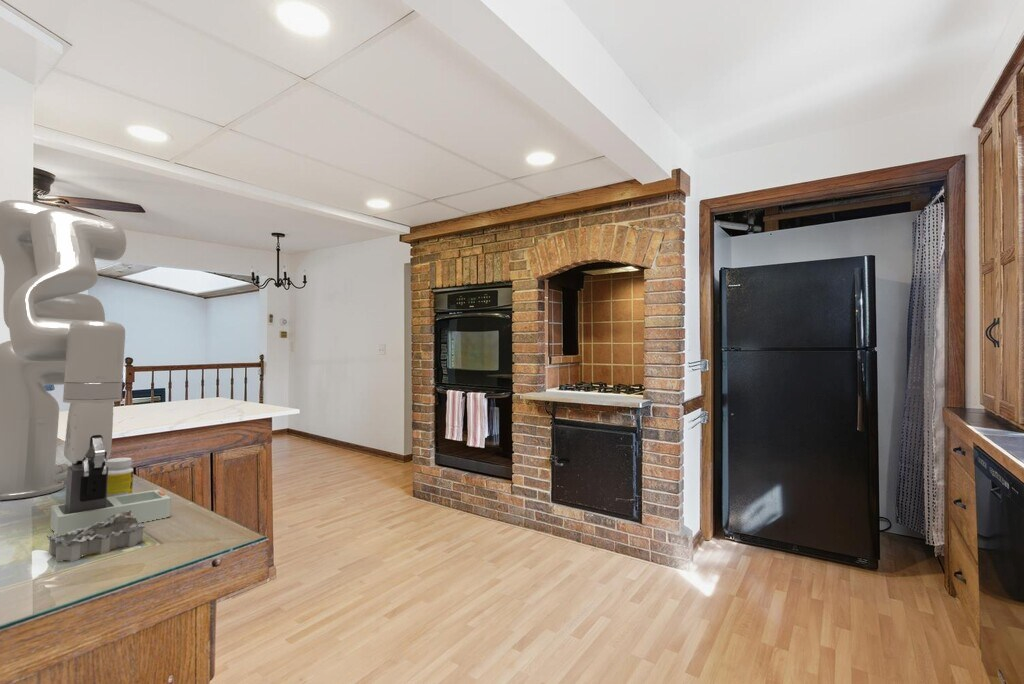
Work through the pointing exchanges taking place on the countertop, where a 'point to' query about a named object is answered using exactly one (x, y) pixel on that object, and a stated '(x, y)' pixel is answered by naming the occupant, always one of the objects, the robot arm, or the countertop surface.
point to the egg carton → (97, 537)
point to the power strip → (113, 510)
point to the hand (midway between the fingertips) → (86, 493)
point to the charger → (74, 490)
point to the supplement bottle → (119, 476)
